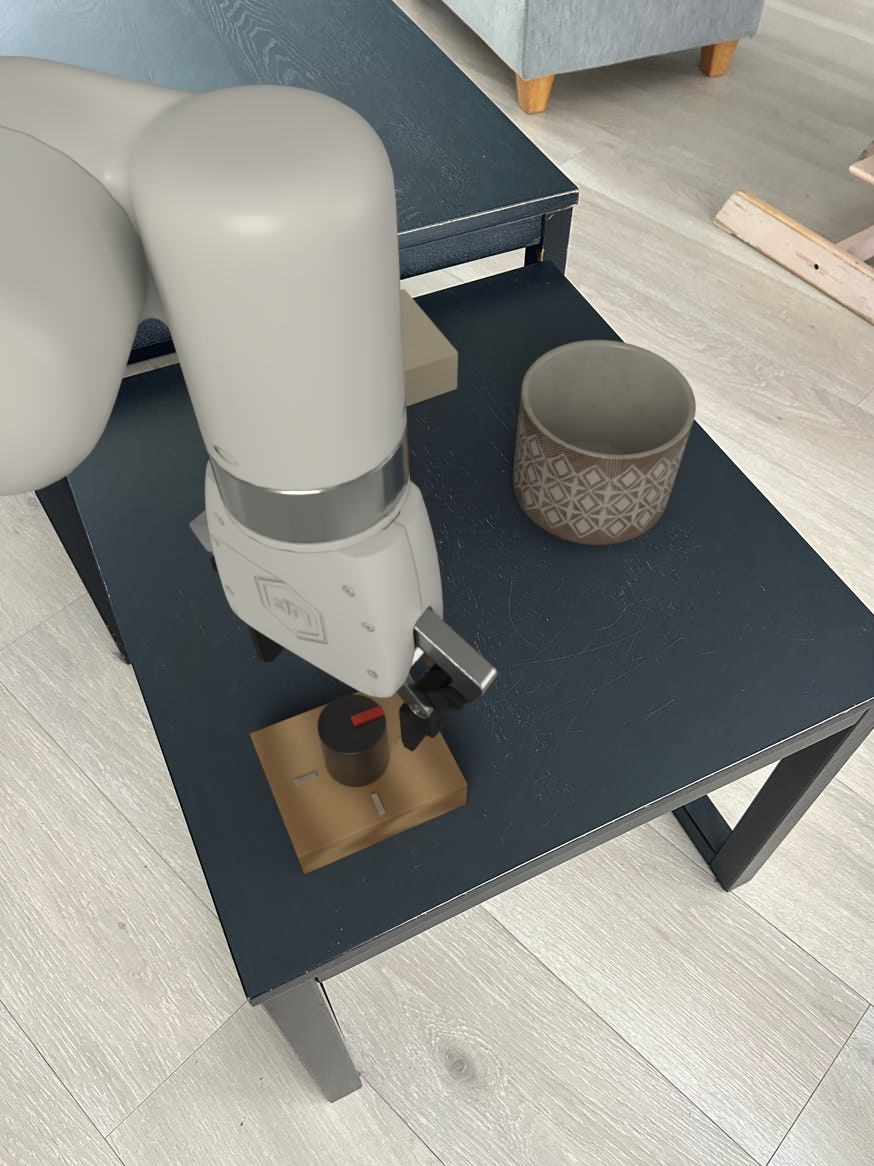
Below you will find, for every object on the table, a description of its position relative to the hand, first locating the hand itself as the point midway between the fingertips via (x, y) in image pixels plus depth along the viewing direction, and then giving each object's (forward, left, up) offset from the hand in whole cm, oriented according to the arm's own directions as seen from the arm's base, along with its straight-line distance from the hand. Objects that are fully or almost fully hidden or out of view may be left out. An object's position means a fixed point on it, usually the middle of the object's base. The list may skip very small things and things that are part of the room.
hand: (351, 684), depth 49 cm
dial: (0, 0, -9) cm, 9 cm away
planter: (0, +30, -12) cm, 33 cm away
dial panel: (0, 0, -12) cm, 12 cm away
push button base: (-24, +31, -12) cm, 41 cm away
